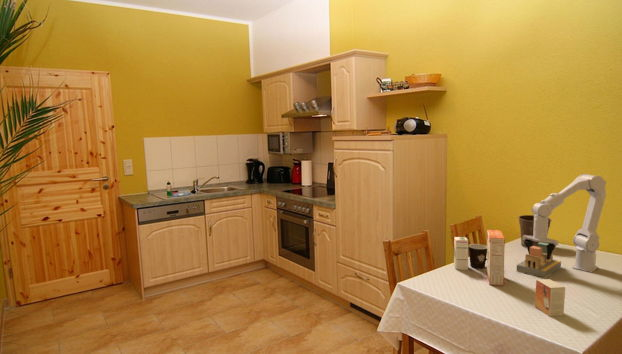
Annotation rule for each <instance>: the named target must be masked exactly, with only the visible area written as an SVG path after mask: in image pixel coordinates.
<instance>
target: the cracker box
mask: <svg viewBox="0 0 622 354" xmlns="http://www.w3.org/2000/svg"><path fill="white" fill-rule="evenodd" d="M486 235H487V236H486V237H487V238H486V239H487V240H486V241H487V242H486V246H487V256H486V259H487V260H486V276H487V280H488V284H489V286H500V287H505V286H504V285H505V283H504V282H505V247H506V246H505V244H506V243H505V242H506V241H505V239H506V238H505V237H504V235H503V233H502V231H501V230H497V229H487V233H486Z"/></svg>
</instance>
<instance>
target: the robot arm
mask: <svg viewBox="0 0 622 354" xmlns="http://www.w3.org/2000/svg"><path fill="white" fill-rule="evenodd" d="M606 184H607V182H606V180H605V179H604V178H603V177H602V176H600V175H593V174H588V173H582V174H580V175H579V176H577V177H576V178H574V180H573V181H572V182H571V183H569V184H568V185H567V186H565V188H563V189H562V190H561V191H559V192H558V193H557V192H553V193H550V194H549V196H547V197H546V198H544V199H542V200H541V201H540V202H536V203H534V205H533V206H532V208H531V212H532V214H533V215H534V230H533V236H527V235H524V236H523V240H525V241H524V243H525V245H526V247H525V248H526V249H527V252H528V253H527V254H529V252H530V247H532V246H533V242H534V241H535V242H541V243H546V244H549V245H547V260H549V259H550V257H551V254H552V252H553V253H554V250H555V248H556V247H557V246H559V240H555V239H551V238H548V236H547V235H549V230H548V218H549V216H551V215H552V212H553V211H554V210H555V209H556V208H558V207H559V206H561V205H562V204H563V203H564V201H565V199H567V198H569V196H572V195H573V194H575V193H576V192H579V191H581V190H586V192H587V193H588V194H589V195H590V197H589V201H588V203H587V204H588V205H587V209H586V212H585V215H584V219H583V223H582V227H581V228H579V229H578V230H577V231H576V234H575V235H574V236H573V239H572V241H573V244H574V246H575V262H574V263H575V264H574V265H573V266H572V267H571V268H572V269H574V270H575V269H576V270H580V271H586V272H589V273H593V272H594V271H596V270H597V269H598V267H599V266H597V265H596V264H597V263H596V262H597V261H596V260H597V252H596V251H597V250H598V249H599V248H600V242H599V241H600V235H599V234H598V232H597V230H598V225H599V223H600V218H601V215H602V212H603V207H604V204H605V200H606V196H607V189H606Z"/></svg>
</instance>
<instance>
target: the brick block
mask: <svg viewBox="0 0 622 354" xmlns="http://www.w3.org/2000/svg"><path fill="white" fill-rule="evenodd" d="M528 255H532V256H537V257H539V258H540V257H541V256H542V247H537V246H532V247H530V252H529V253H528Z"/></svg>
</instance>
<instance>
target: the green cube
mask: <svg viewBox="0 0 622 354" xmlns="http://www.w3.org/2000/svg"><path fill="white" fill-rule="evenodd" d="M547 245H549V244H546V243H541V242H540V243H538V247H542V253H547Z"/></svg>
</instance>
